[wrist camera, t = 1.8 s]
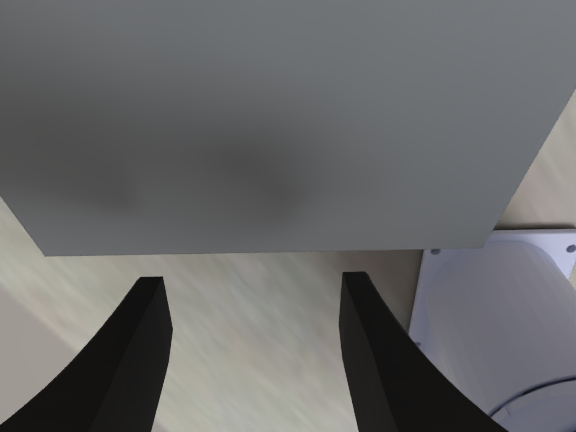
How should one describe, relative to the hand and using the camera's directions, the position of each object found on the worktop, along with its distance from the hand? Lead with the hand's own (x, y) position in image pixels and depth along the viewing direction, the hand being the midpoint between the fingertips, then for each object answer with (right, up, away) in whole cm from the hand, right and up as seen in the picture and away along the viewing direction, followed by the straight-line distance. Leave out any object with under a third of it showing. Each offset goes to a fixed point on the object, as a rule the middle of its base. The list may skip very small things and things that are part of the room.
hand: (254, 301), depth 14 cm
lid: (0, +6, 0) cm, 6 cm away
